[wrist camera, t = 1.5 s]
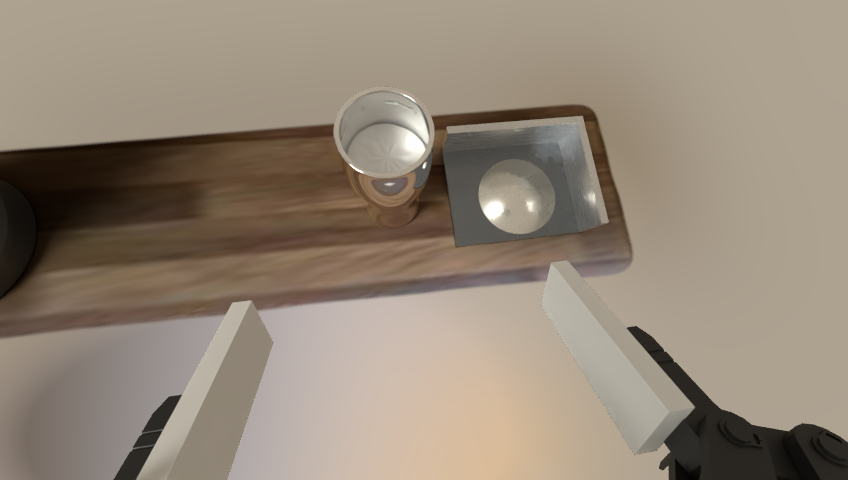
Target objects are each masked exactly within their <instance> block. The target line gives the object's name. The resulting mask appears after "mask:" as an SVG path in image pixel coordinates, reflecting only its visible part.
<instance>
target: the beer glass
mask: <svg viewBox="0 0 848 480" xmlns="http://www.w3.org/2000/svg"><path fill="white" fill-rule="evenodd" d="M334 140H335V144H336V147H337V149H338V153H339V157H340V160H341V164H342V167H343V169H344V172H345V174H346V177H347V179H348V180H349V182H350V184H351V186H352V187H353V189H354V190H355V191H356V193H357V194H358V195H359V196H360V197H361V198H362V199H363V200H364V201H365V206H366V210H367V212H368V214H369V216H370V217H371V218H372V219H373V220H374V221H375V222H376V223H377V224H379V225H381V226H384V227H389V228H396V227H400V226H403V225H405V224H407V223H408V222H410V221H411V220H412V219H413V218H414V216H415V215H416V213H417V211H418V208H419V195H420V193H421V192H422V190H423V189H424V187H425V185H426V183H427V181H428V178H429V174H430V171H431V166H432V159H433V142H434V124H433V120H432V118H431V115H430V113H429V112H428V110H427V108H426V107H425V106H424V104H423V103H422V102H421V101H420V100H419V99H417V98H416V97H415V96H413V95H412V94H410V93H408V92H406V91H404V90H401V89H398V88H394V87H387V86H380V87H372V88H368V89H365V90H363V91H360V92H358V93H356V94H355V95H353V96H352V97H351V98H349V99H348V100H347V101H346V102H345V103H344V104H343V106H342V107H341V108H340V110H339V112H338V114H337V116H336V119H335V123H334Z"/></svg>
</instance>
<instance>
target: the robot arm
mask: <svg viewBox="0 0 848 480" xmlns="http://www.w3.org/2000/svg"><path fill="white" fill-rule="evenodd" d="M35 240H36V221H35V217H34V213H33V210H32V208H31V206H30V204H29V202H28V201H27V199H26V198H25V196H24V195H23V194H22V193H21V192H20V191H19V190H18V189H16V188H15V187H14V186H12V185H11V184H9V183H7V182H5V181H3V180H1V179H0V296H2V295H3V294H4V293H5V292H6V291H7V290H8V289H9V288H10V287H11V286H12V285H13V284H14V283H15V282H16V280H17V279H18V278H19V277H20V275H21V274H22V272H23V271H24V269H25V267H26V266H27V264H28V262H29V260H30V257H31V255H32V252H33V249H34V245H35ZM541 306H542V308H543V309H544V311H545V313H546V314H547V316H548V317H549V319H550V320H551V322H552V324H553V325H554V327H555V328H556V330H557V332H558V333H559V335H560V336H561V338H562V340H563V341H564V343H565V345H566V346H567V348H568V349H569V351H570V353H571V354H572V356H573V357H574V359H575V361H576V362H577V364H578V365H579V367H580V368H581V370H582V372H583V373H584V375H585V377H586V378H587V380H588V381H589V383H590V385H591V386H592V388H593V389H594V391H595V392H596V394H597V396H598V397H599V399H600V401H601V402H602V404H603V405H604V407H605V409H606V410H607V412H608V413H609V415H610V417H611V418H612V420H613V421H614V423H615V424H616V426H617V428H618V429H619V431H620V433H621V434H622V436H623V437H624V439H625V441H626V442H627V444H628V445H629V447H630V449H631V450H632V452H633V453H634V455H637V454H642V453H647V452H653V451H657V449H658V448H659V447H660V446H661V445H662V444H663V443H665V444H666V446H667V447H668V449H669V450H670V451H671V452H670V453H669V454H668V455H667V456H666V457H665V458H664V459H663V460H662V461H661V463H660V466H659V469H661V470H664V469H665V468H666V467H667V466H668V465H669V480H848V442H846V441H845V440H844V439H842V438H841V437H839V436H838V435H836V434H834V433H832V432H830V431H828V430H827V429H824V428H821V427H818V426H816V425H813V424H803V423H802V424H801V425H798V426H796V427H794V428H793V429H792V430H790V431H783V430H777V429H772V428H766V427H760V426H755V425H751V424H750V423H749V422H747V421H746V420H745V419H743V418H742V417H739V416H738V415H736V414H734V413H732V412H728V411H725V410H721V409H720V408H719V407H718V406H717V405H716V404H715V403H713V402H712V401H711V399H710V398H709V397H708V396H707V395H706V394H705V393H704V392H703V391H702V390H701V389H700V388H699V387H698V386H697V385H696V383H695V382H694V381H693V380H692V379H691V378H690V377H689V376H688V375H687V374H686V373H685V372H684V371H683V369H682V368H681V367H680V366H679V365H678V364H677V363H676V362H674V361H673V359H672V358H671V357H670V355H669V354H668V353H667V352H664V349H663V348H662V347H661V346H660V345H659V344H658V343H657V342H656V340H655V339H654V338H652V336H650V335H649V334H647V333H646V332H644V331H643V330H641V329H640V328H638V327H637V326H634V327H628V328H625V326H624V325H623V324H622V323H621V322H620V320H619V319H618V318H617V317H616V316H615V315H614V313H613V312H612V311H611V310H610V309H609V308H608V307H607V306H606V304H605V303H604V302H603V301H602V300H601V299H600V297H599V296H598V295H597V294H596V293H595V292H594V291H593V289H592V288H591V287H590V286H589V285H588V284H587V283H586V282H585V280H584V279H583V278H582V277H581V276H580V274H579V273H578V272H577V271H576V270H575V269H574V268H573V266H572V265H571V264H570V263H569V262H568V261H567V260H566V261H558V262H551V265H550V270H549V274H548V278H547V282H546V286H545V290H544V294H543V299H542V303H541ZM272 345H273V341H272V339H271V337H270V335H269V333H268V331H267V329H266V327H265V325H264V324H263V321H262V320H261V318H260V316H259V314H258V312H257V310H256V308H255V306H254V304H253V302H252V300H251V301H243V302H235V303H232V305H231V306H230V308H229V310H228V312H227V314H226V316H225V317H224V319H223V321H222V323H221V325H220V327H219V329H218V330H217V333H216V334H215V336H214V338H213V340H212V342H211V343H210V345H209V347H208V349H207V350H206V352H205V354H204V356H203V358H202V360H201V361H200V363H199V365H198V367H197V369H196V371H195V373H194V374H193V376H192V378H191V380H190V382H189V384H188V385H187V387H186V389H185V391H184V393H183V395H178V396H171V397H168V398H167V399H166V400H165V402H164V403H163V404H162V405H161V406H160V407H159V408H158V409H157V410H156V411H155V412H154V413H153V414H152V417H151V418H150V420H149V421H148V423H147V425H146V426H145V428H144V430H143V431H142V435H141V436H139V438H138V440H137V442H136V443H135V445H134V446H133V450H132V451H131V452H130V453H129V455H128V456H127V458H126V460H125V461H124V463H123V465H122V466H121V468H120V470H119V471H118V473H117V475H116V477H115V478H114V480H227V478H228V475H229V472H230V469H231V466H232V463H233V460H234V457H235V454H236V451H237V448H238V445H239V443H240V440H241V437H242V434H243V431H244V427H245V425H246V422H247V419H248V416H249V413H250V410H251V407H252V404H253V401H254V398H255V395H256V392H257V389H258V386H259V383H260V380H261V377H262V375H263V371H264V369H265V366H266V363H267V360H268V357H269V354H270V351H271V348H272Z"/></svg>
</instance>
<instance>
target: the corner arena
mask: <svg viewBox="0 0 848 480" xmlns="http://www.w3.org/2000/svg"><path fill="white" fill-rule="evenodd" d="M441 153H442V160H443V166H444V173H445V180H446V186H447V193H448V200H449V206H450V213H451V220H452V226H453V233H454V240H455V246H456V247H465V246H473V245H482V244H490V243H498V242H507V241H515V240H524V239H532V238H541V237H549V236H558V235H566V234H575V233H582V232H585V231H587V230H590V229H593V228H596V227H598V226H601V225H604V224H607V223H609V221H608V217H607V213H606V209H605V205H604V200H603V196H602V192H601V188H600V184H599V180H598V176H597V172H596V168H595V164H594V160H593V156H592V152H591V148H590V144H589V140H588V136H587V131H586V127H585V123H584V119H583V116H574V117H562V118H549V119H537V120H524V121H512V122H499V123H487V124H474V125H462V126H449V127H446V131H445V135H444V139H443V143H442V147H441Z"/></svg>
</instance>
